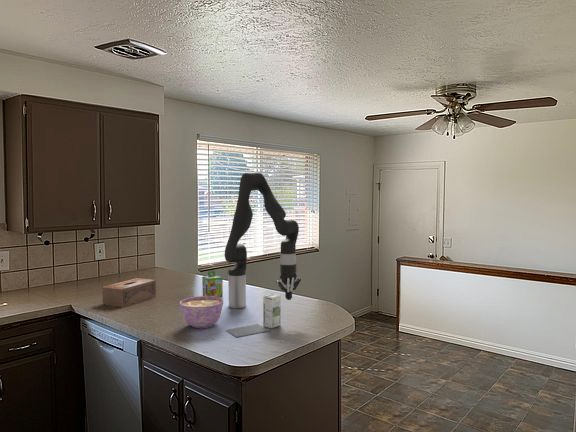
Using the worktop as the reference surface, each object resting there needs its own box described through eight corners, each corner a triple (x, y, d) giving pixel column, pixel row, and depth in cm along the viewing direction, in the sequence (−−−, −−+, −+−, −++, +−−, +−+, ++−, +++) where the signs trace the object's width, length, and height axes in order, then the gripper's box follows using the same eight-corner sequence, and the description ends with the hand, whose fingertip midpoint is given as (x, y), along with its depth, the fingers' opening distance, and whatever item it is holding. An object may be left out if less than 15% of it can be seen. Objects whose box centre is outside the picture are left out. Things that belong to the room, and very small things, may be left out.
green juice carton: (209, 299, 259) (208, 273, 258) (201, 296, 267) (201, 271, 266) (223, 296, 265) (222, 271, 264) (216, 293, 272) (215, 269, 271)
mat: (226, 330, 203) (226, 329, 203) (257, 324, 211) (257, 323, 211) (236, 337, 194) (236, 336, 194) (269, 331, 202) (269, 330, 202)
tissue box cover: (122, 307, 244) (121, 289, 243) (102, 304, 250) (102, 286, 249) (155, 296, 267) (155, 280, 266) (137, 294, 273) (136, 278, 272)
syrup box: (271, 323, 213) (271, 292, 212) (281, 325, 209) (280, 294, 208) (263, 326, 209) (262, 295, 207) (272, 329, 205) (272, 297, 204)
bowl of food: (183, 320, 220) (183, 296, 219) (225, 318, 221) (225, 295, 220) (176, 333, 200) (175, 307, 199) (222, 332, 201) (221, 306, 200)
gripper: (296, 260, 218) (296, 296, 219) (271, 263, 211) (272, 299, 212) (304, 262, 212) (304, 299, 213) (280, 265, 205) (280, 303, 206)
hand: (288, 299), depth 213 cm, fingers closed
